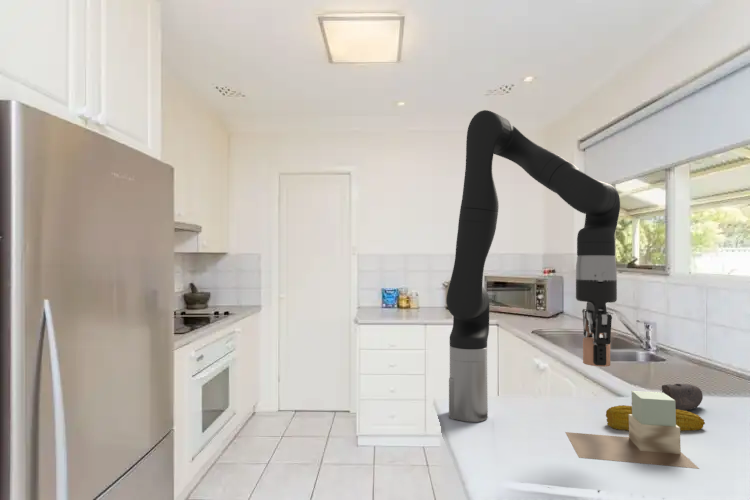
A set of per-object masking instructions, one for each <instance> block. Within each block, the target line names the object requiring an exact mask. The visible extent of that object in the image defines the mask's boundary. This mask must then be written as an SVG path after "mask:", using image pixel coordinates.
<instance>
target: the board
mask: <svg viewBox="0 0 750 500" xmlns="http://www.w3.org/2000/svg"><path fill="white" fill-rule="evenodd" d="M565 434H566V436H567V438H568V441H569V442H570V443H571V446H572V447H573V449H574V451H575V453H576V454H577V457H578V458H579V459H589V460H591V459H592V460H599V461H600V460H601V461H610V462H611V461H612V462H623V463H634V464H643V465H654V466H655V465H656V466H664V467H665V466H666V467H674V468H675V467H677V468H687V469H700V468H699V467H698V466H697V464H695V463H694V462H693V461H692V460H691V459H690V458H688V457H687V456H686V455H685V454H684V453H683V452H681V454H674V453H662V452H651V451H640V450H639V448H638V447H637V446H636V445H635V444H634V443H633V442H632V441H631V439H630V438H629V436H619V435H608V434H607V435H606V434H605V435H604V434H592V433H583V432H582V433H580V432H570V431H569V432H568V431H567V432H566V431H565Z"/></svg>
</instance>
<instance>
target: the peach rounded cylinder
mask: <svg viewBox="0 0 750 500" xmlns="http://www.w3.org/2000/svg"><path fill="white" fill-rule="evenodd" d="M593 346H594V345H593V338H592V337H586V336H584V337H582V363H583V364H584V365H586V366H591V367H592V366H593V367H603V368H604V367H605V368H606V367H611V343H610V344H608V346H606V365H604V366H602V365H595V364H594V363H593Z"/></svg>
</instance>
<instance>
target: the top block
mask: <svg viewBox="0 0 750 500" xmlns="http://www.w3.org/2000/svg"><path fill="white" fill-rule="evenodd" d="M631 406H632V415H633V416H634V417H635V418H636V419H637V420H638V421H639V422H640V423H641V424H648V425H661V426H675V427H676V407H675V400H674V399H672V398H671V397H669V396H668V395H666V394H665V393H662V392H659V391H657V392H656V391H641V390H631Z"/></svg>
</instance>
